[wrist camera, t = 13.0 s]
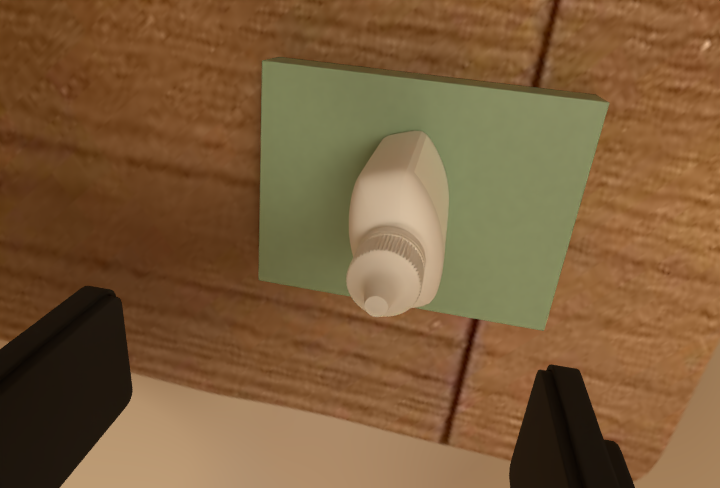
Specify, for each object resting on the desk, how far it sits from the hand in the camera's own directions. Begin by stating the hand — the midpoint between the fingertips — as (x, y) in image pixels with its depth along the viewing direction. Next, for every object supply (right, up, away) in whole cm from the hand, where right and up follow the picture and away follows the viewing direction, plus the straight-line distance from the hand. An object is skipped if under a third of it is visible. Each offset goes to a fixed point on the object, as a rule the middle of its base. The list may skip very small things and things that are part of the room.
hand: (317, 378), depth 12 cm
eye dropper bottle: (+4, +6, +15) cm, 16 cm away
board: (+4, +6, +17) cm, 19 cm away
